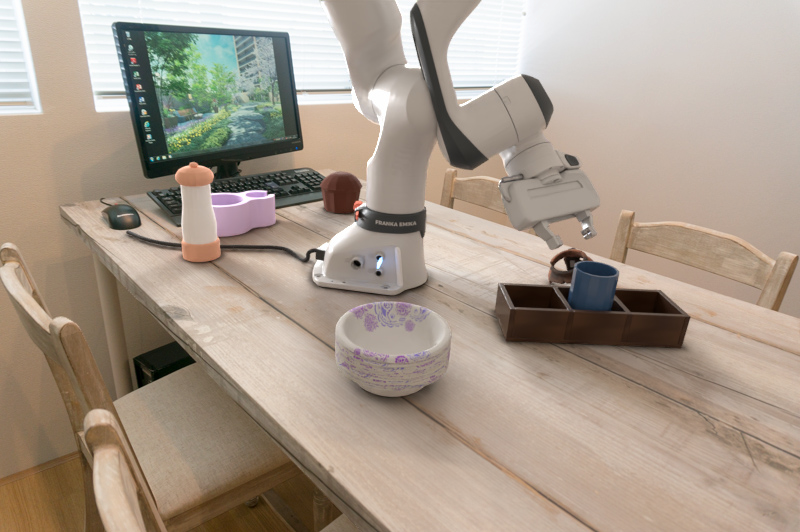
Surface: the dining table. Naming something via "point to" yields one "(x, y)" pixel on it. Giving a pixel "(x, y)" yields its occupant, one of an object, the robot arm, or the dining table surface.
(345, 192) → the muffin
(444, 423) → the dining table surface
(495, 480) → the dining table surface
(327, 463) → the dining table surface
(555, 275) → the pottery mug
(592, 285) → the cup
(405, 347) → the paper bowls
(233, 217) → the purple desk organizer
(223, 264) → the dining table surface
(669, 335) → the cup rack
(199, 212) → the pepper shaker
